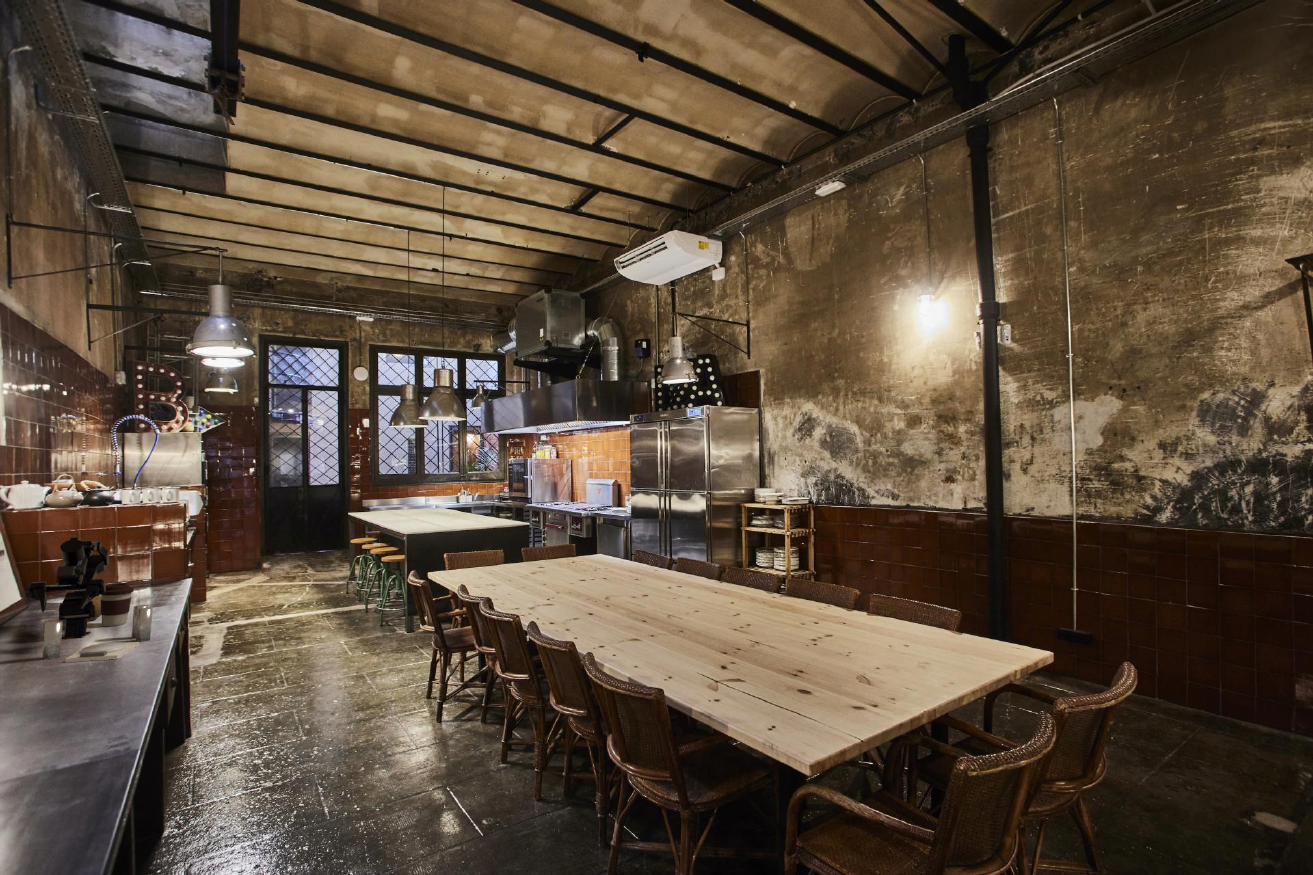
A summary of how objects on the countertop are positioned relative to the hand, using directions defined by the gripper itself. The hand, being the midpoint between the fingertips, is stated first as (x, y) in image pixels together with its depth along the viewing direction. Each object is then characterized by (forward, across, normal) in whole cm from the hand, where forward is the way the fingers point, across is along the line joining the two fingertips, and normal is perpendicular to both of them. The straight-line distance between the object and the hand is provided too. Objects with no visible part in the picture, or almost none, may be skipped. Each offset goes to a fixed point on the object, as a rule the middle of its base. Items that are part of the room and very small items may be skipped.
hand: (61, 609), depth 203 cm
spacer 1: (+15, 0, +4) cm, 15 cm away
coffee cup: (-15, +8, +35) cm, 39 cm away
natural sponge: (-23, -1, +42) cm, 48 cm away
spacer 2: (+3, +19, +16) cm, 25 cm away
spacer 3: (+7, +21, +12) cm, 25 cm away
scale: (+16, +13, +3) cm, 21 cm away
